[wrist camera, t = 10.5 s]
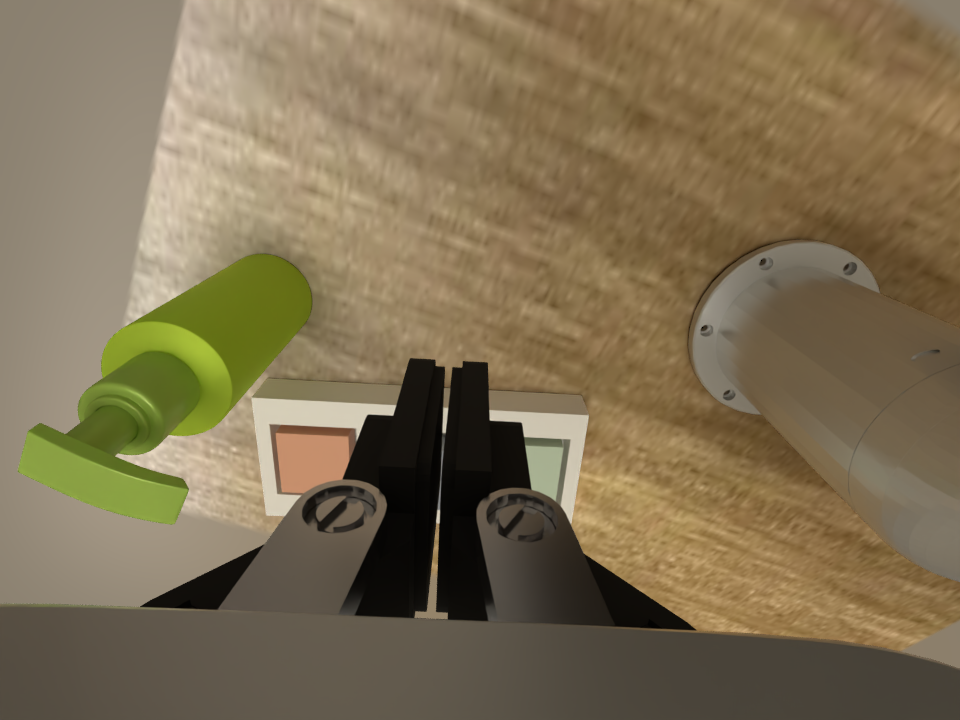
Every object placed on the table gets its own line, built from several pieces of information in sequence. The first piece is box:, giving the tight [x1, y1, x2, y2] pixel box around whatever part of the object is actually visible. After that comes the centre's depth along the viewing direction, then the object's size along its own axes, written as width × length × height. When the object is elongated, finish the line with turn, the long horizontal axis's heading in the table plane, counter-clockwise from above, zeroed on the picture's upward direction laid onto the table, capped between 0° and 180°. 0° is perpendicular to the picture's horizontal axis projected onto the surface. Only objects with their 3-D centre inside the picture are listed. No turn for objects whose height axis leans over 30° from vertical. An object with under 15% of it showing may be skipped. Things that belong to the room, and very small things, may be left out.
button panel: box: [252, 378, 589, 524], centre depth 40 cm, size 23×10×3 cm, turn 87°
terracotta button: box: [276, 425, 355, 493], centre depth 39 cm, size 5×5×2 cm
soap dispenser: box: [18, 254, 312, 524], centre depth 28 cm, size 6×7×20 cm
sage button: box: [524, 437, 563, 501], centre depth 40 cm, size 5×5×2 cm
